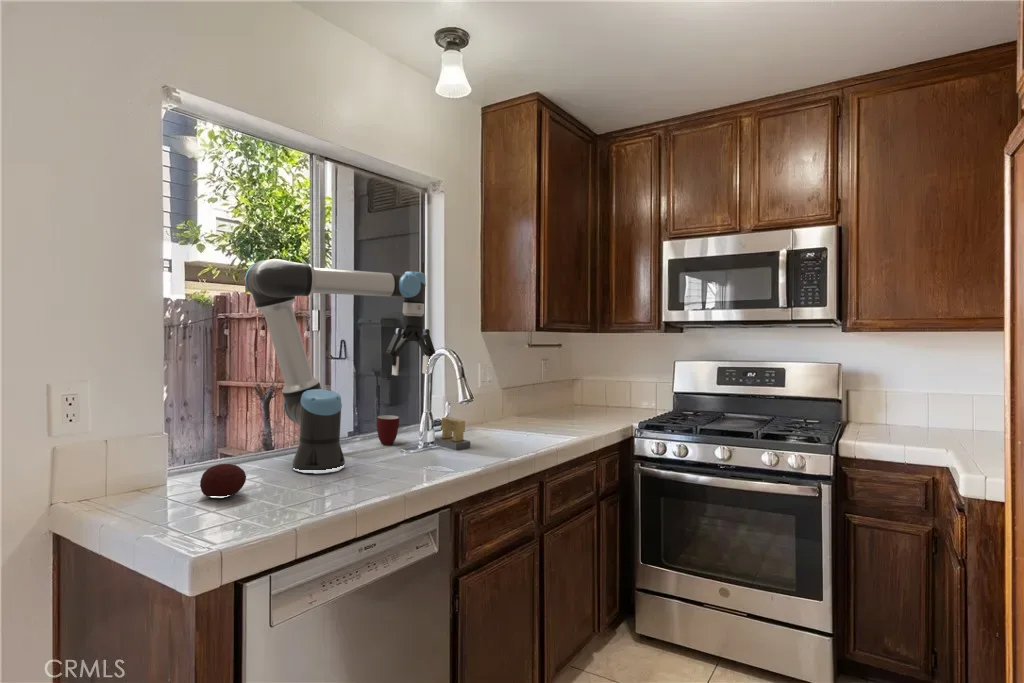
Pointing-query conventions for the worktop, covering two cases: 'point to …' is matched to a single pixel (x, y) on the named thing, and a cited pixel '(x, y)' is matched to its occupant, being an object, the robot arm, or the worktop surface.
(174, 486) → the worktop surface
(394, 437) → the mug
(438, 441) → the grey flat block
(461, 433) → the tan wooden arch block
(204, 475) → the potato
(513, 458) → the worktop surface
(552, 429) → the worktop surface
